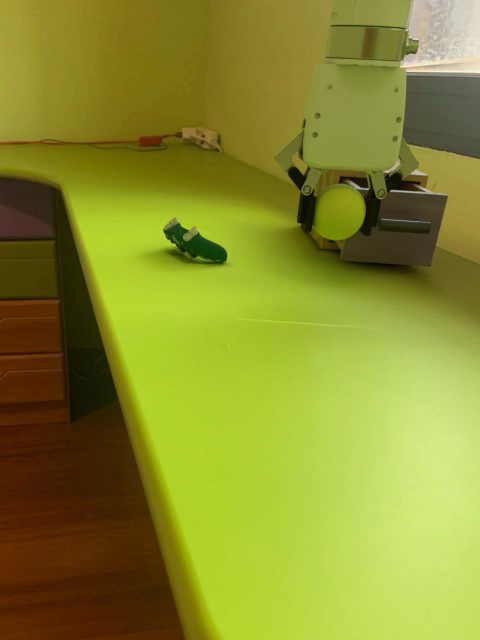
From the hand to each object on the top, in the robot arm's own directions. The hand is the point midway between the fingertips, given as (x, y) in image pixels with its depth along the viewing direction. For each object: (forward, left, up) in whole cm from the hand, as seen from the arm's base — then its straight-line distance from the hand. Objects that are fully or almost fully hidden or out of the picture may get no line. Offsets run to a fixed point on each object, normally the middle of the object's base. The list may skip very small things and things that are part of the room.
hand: (335, 230), depth 77 cm
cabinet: (-10, -28, -7) cm, 30 cm away
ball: (0, 0, +2) cm, 2 cm away
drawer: (-10, -15, -6) cm, 19 cm away
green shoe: (+15, -11, -7) cm, 20 cm away
